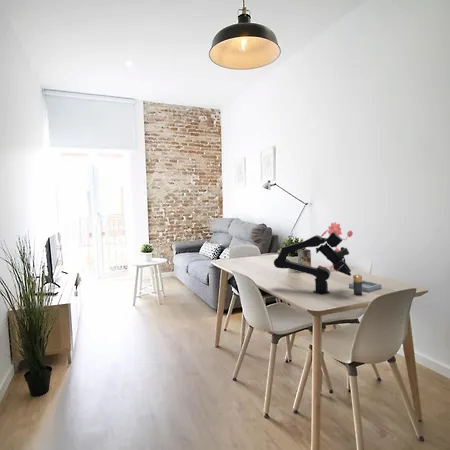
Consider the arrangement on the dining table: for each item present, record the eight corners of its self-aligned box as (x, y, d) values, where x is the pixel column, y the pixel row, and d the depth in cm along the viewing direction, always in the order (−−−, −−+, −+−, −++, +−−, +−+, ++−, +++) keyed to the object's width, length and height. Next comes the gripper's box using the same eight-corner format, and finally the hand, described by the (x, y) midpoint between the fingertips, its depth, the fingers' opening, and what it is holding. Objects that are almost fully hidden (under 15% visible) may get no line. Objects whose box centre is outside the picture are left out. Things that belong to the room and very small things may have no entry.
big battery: (358, 295, 178) (358, 275, 177) (351, 294, 182) (351, 274, 181) (363, 294, 181) (363, 274, 180) (357, 292, 184) (356, 273, 184)
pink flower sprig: (356, 269, 242) (355, 221, 240) (327, 273, 233) (325, 223, 231) (342, 265, 256) (340, 220, 254) (314, 269, 247) (312, 223, 245)
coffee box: (307, 270, 246) (306, 248, 245) (311, 271, 240) (311, 249, 239) (295, 271, 244) (295, 249, 243) (300, 273, 238) (299, 250, 236)
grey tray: (367, 292, 184) (367, 288, 184) (349, 287, 194) (349, 283, 194) (381, 288, 190) (381, 284, 190) (362, 284, 201) (362, 280, 201)
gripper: (339, 245, 173) (362, 267, 171) (340, 240, 191) (360, 260, 188) (324, 260, 177) (346, 281, 174) (326, 254, 194) (346, 273, 191)
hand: (350, 273), depth 182 cm, fingers open, 9 cm apart
